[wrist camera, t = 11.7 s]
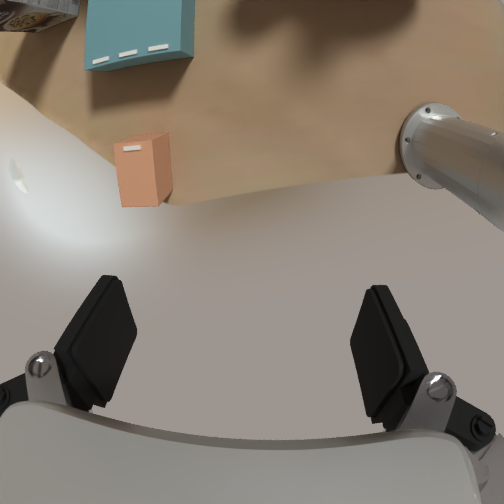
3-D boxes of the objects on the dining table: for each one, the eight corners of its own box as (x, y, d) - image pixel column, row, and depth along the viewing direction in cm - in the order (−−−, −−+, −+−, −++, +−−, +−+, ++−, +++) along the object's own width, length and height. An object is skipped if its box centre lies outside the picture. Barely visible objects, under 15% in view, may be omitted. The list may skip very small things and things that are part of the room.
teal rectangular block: (197, -42, 20) (186, -62, 15) (193, 57, 28) (179, 50, 23) (114, -23, 20) (93, -36, 15) (108, 71, 29) (83, 70, 23)
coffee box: (36, 34, 23) (-38, 35, 10) (41, 2, 20) (-28, -6, 6) (79, 17, 23) (2, 4, 9) (84, -17, 20) (14, -40, 6)
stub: (168, 132, 33) (151, 140, 28) (172, 189, 38) (157, 206, 32) (134, 135, 34) (112, 144, 28) (140, 190, 38) (121, 207, 32)
